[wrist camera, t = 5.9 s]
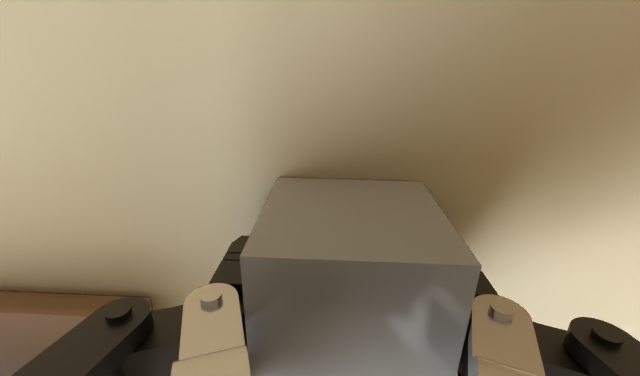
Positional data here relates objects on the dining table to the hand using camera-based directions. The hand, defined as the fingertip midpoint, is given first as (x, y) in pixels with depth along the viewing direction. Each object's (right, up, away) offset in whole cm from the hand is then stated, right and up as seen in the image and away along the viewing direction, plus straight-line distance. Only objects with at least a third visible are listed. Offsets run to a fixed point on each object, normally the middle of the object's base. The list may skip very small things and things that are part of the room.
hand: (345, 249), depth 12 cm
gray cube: (0, 0, 0) cm, 0 cm away
